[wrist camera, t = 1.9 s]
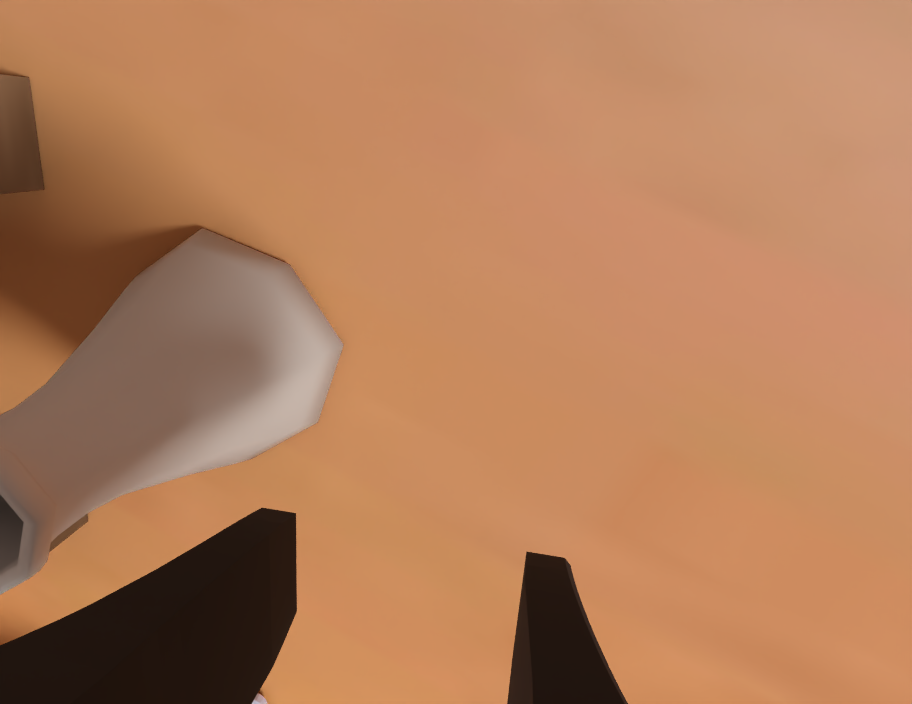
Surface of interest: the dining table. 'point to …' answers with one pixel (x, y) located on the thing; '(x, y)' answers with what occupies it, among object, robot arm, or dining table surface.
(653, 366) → the dining table surface
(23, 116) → the housing
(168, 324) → the flask
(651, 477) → the dining table surface
